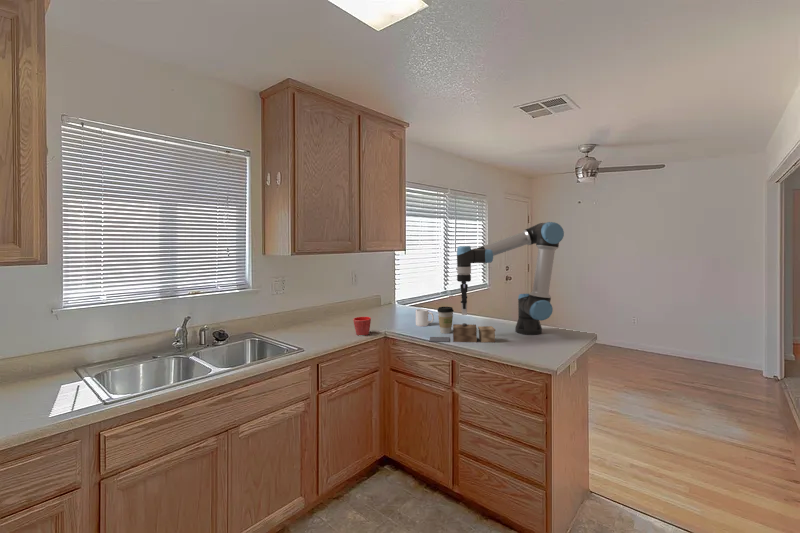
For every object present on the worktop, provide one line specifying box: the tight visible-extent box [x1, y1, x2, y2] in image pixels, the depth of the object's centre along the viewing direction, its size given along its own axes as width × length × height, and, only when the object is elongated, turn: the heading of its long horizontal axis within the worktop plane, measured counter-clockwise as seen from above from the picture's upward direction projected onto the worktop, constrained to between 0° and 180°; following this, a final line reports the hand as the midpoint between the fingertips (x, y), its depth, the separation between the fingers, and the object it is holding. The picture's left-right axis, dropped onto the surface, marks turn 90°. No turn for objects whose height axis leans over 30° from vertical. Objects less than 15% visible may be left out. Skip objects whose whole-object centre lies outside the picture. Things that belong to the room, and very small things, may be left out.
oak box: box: [477, 325, 496, 343], centre depth 211 cm, size 8×8×7 cm
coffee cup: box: [437, 306, 454, 334], centre depth 231 cm, size 10×10×15 cm
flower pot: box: [352, 316, 372, 336], centre depth 231 cm, size 11×11×10 cm
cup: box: [415, 308, 435, 328], centre depth 251 cm, size 8×12×10 cm
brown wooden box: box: [452, 323, 478, 343], centre depth 212 cm, size 13×8×9 cm, turn 81°
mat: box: [428, 336, 450, 343], centre depth 215 cm, size 11×9×1 cm
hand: (464, 312), depth 212 cm, fingers open, 13 cm apart
